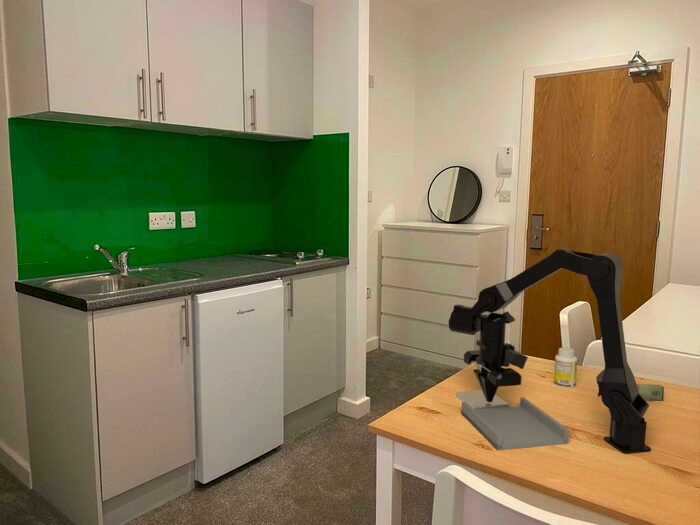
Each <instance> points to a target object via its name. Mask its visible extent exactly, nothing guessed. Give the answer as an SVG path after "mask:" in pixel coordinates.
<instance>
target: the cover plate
mask: <svg viewBox="0 0 700 525" xmlns="http://www.w3.org/2000/svg"><path fill="white" fill-rule="evenodd" d="M455 393H456V395H455V396H456V399H458V400H459V401H460V400H461V403H462V402H466V403H468V404H469V405H470V406H471V407H472V408H473V409H486V408H500V407H510V403H509V402H507V401H505V400H504V399H503V398H501V397H500V396H499V395H497V393H495V396H494V398H493V401H492V402H487V401H486V398H485V396H484V393H483V391H482V389H475V390H465V391H462V390H461V391H456V392H455Z"/></svg>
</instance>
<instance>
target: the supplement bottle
mask: <svg viewBox="0 0 700 525" xmlns="http://www.w3.org/2000/svg"><path fill="white" fill-rule="evenodd" d="M575 351H576V350H575V349H573V348H571V347H559V348H558V352H557V353H558V354H556V355H555V357H554V371H553V375H554V376H553V384H554V385H555V386H557V387H558V388H563V389H574V388H576V386H577V385H576V384H577V369H578V368H577V367H578V357H576V356H575V353H576V352H575Z"/></svg>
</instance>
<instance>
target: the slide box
mask: <svg viewBox="0 0 700 525" xmlns="http://www.w3.org/2000/svg"><path fill="white" fill-rule="evenodd" d="M519 399H520V401H519V405H515V406H509V407H500V408H486V409H473V408H472V407H471V406H470V405H469V404H468V403H466V402H462V401H461V412H460V413H461V416H463V417H464V419H465V420H466V421H467V422H468V423H469V424H471V426H472V427H473V428H475V430H476V431H477V432H478V433H480V435H481V436H483V438H484V439H485V440H486V441H487V442H488V443H490V445H492V447H493V448H495V450H496V451H503V450H505V451H506V450H513V449H525V448H527V449H528V448H535V447H536V448H537V447H546V446H547V447H548V446H558V445H559V446H560V445H567V444H569V437H570V436H569V435H570V429H568V428H567V427H565V425H563V424H561V423H560V422H559V421H557V420H556V419H554V418H553V417H552V416H550V415H549V414H548V413H546V412H544V411H543V410H542V409H541V408H539V407H538V406H536V404H534V403H532V402H531V401H529V400H528V399H527V398H525V397H520V398H519Z"/></svg>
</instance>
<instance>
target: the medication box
mask: <svg viewBox="0 0 700 525" xmlns="http://www.w3.org/2000/svg"><path fill="white" fill-rule="evenodd" d="M636 384H637V387H638V393H639V394H640V395H641V396H642V397H643V398H644V400H645V401H646V402H655V401H664V402H665V400H664V394H665V392H664V390H665V387H664V386H663V385H660V384H651V383H650V384H649V383H648V384H647V383H636Z"/></svg>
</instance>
